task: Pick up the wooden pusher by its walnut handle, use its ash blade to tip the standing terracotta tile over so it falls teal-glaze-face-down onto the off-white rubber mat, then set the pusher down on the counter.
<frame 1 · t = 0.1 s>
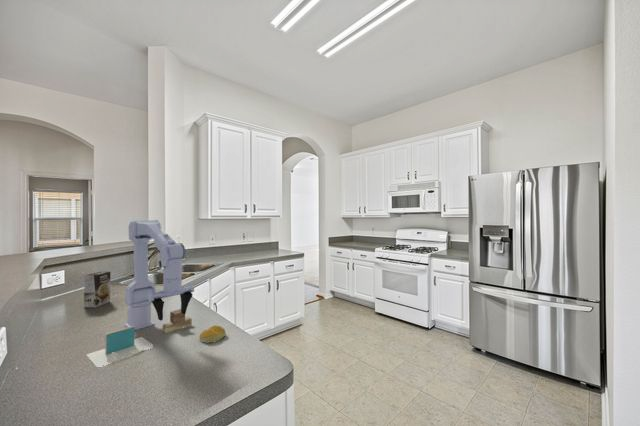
hand: (172, 316, 95), 10 cm above the worktop, tool pointing down, fingers open, 7 cm apart
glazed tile: (120, 348, 91), resting on rubber mat
coffee box: (97, 305, 137), on the worktop
wooden pusher: (177, 328, 108), on the worktop
bread roll: (212, 338, 100), on the worktop
rubber mat: (122, 351, 90), on the worktop
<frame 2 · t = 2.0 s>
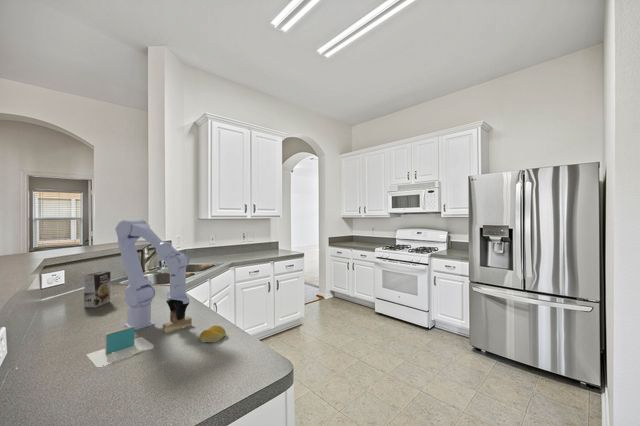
hand: (177, 317, 108), 4 cm above the worktop, tool pointing down, fingers closed on wooden pusher, 4 cm apart
wooden pusher: (177, 328, 108), on the worktop, touching gripper
everything else where it was.
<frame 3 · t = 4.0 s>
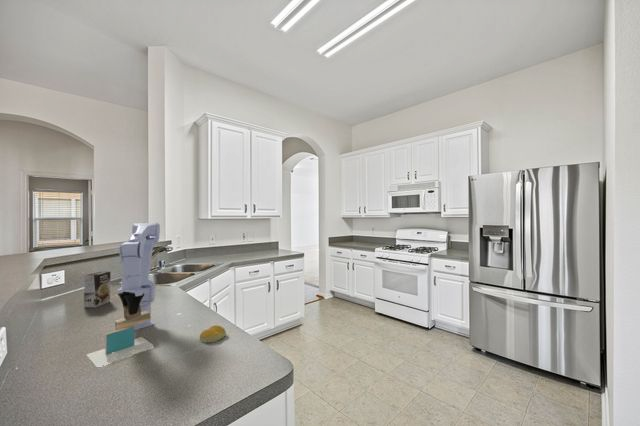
hand: (130, 312, 97), 10 cm above the worktop, tool pointing down, fingers closed on wooden pusher, 4 cm apart
wooden pusher: (133, 324, 98), point 6 cm above the worktop, touching gripper
everything else where it was.
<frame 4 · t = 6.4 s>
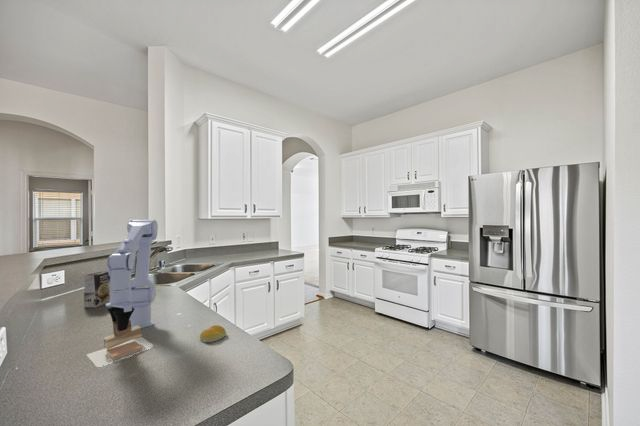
hand: (120, 328, 91), 7 cm above the worktop, tool pointing down, fingers closed on wooden pusher, 4 cm apart
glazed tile: (121, 347, 90), point 1 cm above the worktop, tilted 90°, touching rubber mat
wooden pusher: (123, 341, 92), point 3 cm above the worktop, tilted 6°, touching gripper
everything else where it was.
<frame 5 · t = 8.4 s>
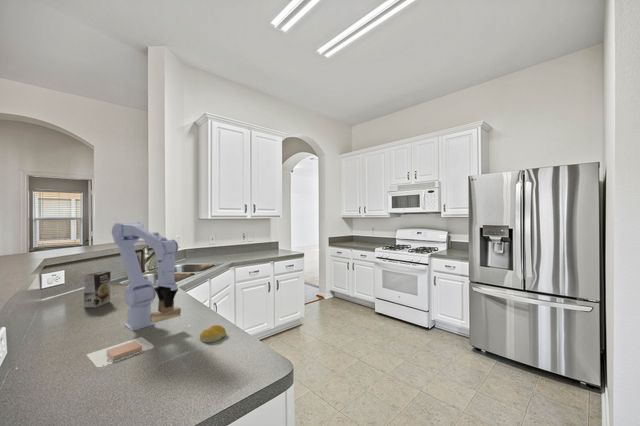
hand: (165, 305, 105), 10 cm above the worktop, tool pointing down, fingers closed on wooden pusher, 4 cm apart
wooden pusher: (165, 318, 104), point 5 cm above the worktop, touching gripper
everything else where it was.
when the fingers open (5 cm above the worktop, at t = 9.9 s): wooden pusher stays where it is, on the worktop.
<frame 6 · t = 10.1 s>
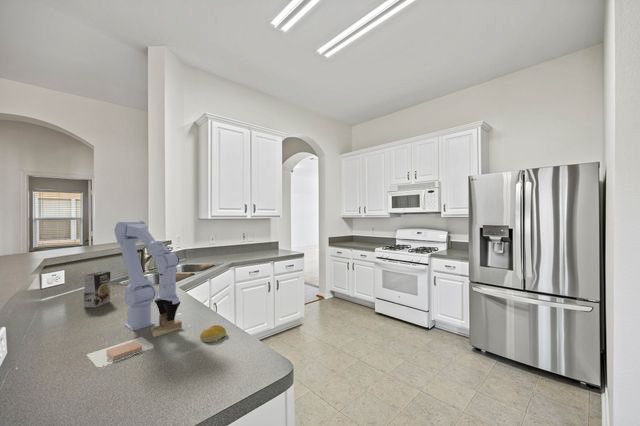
hand: (167, 318, 105), 5 cm above the worktop, tool pointing down, fingers open, 6 cm apart
wooden pusher: (166, 332, 105), on the worktop
everything else where it was.
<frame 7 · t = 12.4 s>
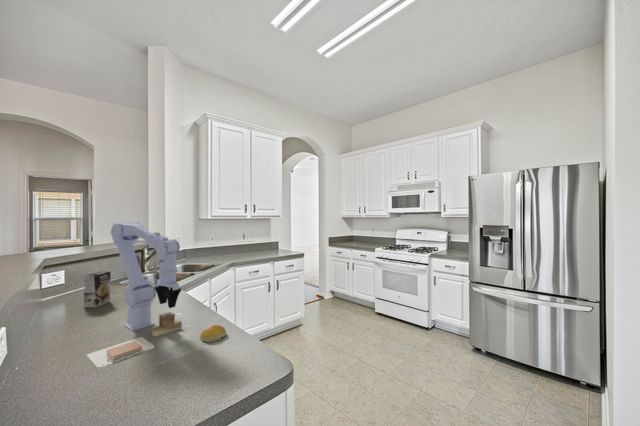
hand: (167, 305, 105), 10 cm above the worktop, tool pointing down, fingers open, 7 cm apart
nothing on the worktop moved.
at the end: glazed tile tilted 90°; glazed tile inside the target area (1.6 cm from its centre), point 1.1 cm above the worktop; the gripper is holding nothing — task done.
